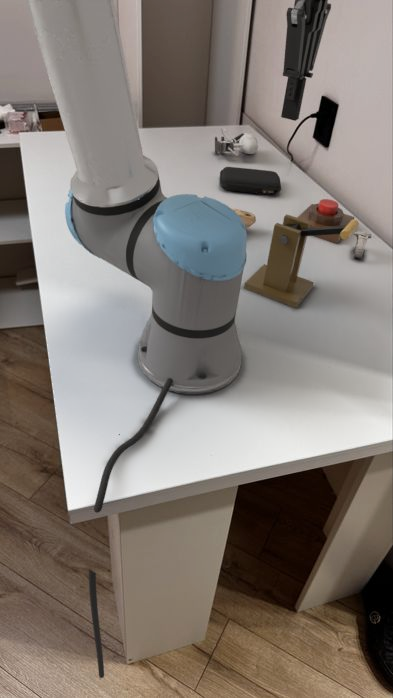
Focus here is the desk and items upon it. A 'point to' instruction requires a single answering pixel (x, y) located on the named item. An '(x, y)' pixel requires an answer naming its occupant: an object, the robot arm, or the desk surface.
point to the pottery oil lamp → (246, 217)
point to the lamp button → (328, 207)
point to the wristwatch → (360, 243)
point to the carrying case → (250, 180)
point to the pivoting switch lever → (328, 230)
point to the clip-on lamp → (246, 144)
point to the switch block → (325, 221)
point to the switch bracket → (283, 266)
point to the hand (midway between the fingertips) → (289, 117)
